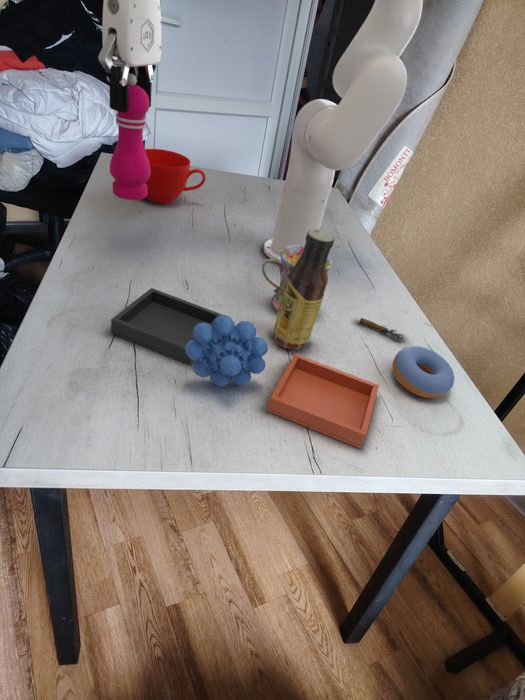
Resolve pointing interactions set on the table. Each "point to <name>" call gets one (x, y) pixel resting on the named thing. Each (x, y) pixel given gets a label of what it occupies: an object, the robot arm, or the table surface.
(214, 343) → the blue knobbed flower
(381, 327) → the can opener
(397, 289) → the table surface
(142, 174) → the pepper mill
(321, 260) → the sauce bottle
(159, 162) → the ceramic cup
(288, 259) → the mug
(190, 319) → the charcoal tray
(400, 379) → the doughnut
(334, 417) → the terracotta tray
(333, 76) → the robot arm
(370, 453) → the table surface
